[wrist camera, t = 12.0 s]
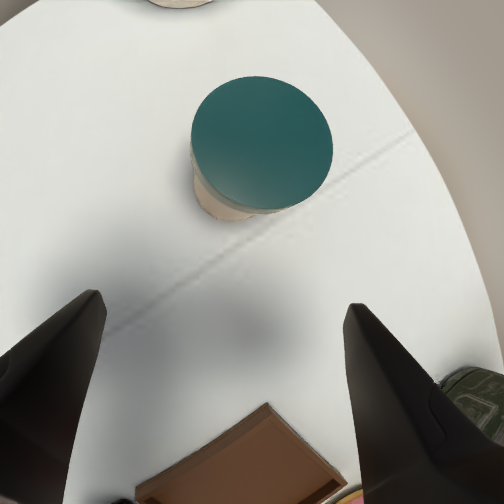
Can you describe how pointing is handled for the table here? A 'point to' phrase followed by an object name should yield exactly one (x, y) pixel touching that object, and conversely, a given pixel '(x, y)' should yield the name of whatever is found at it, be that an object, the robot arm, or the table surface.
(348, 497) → the doughnut
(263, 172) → the lid
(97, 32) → the table surface
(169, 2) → the cream flower pot
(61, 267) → the table surface
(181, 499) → the tray
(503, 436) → the canister
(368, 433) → the robot arm
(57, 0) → the table surface
